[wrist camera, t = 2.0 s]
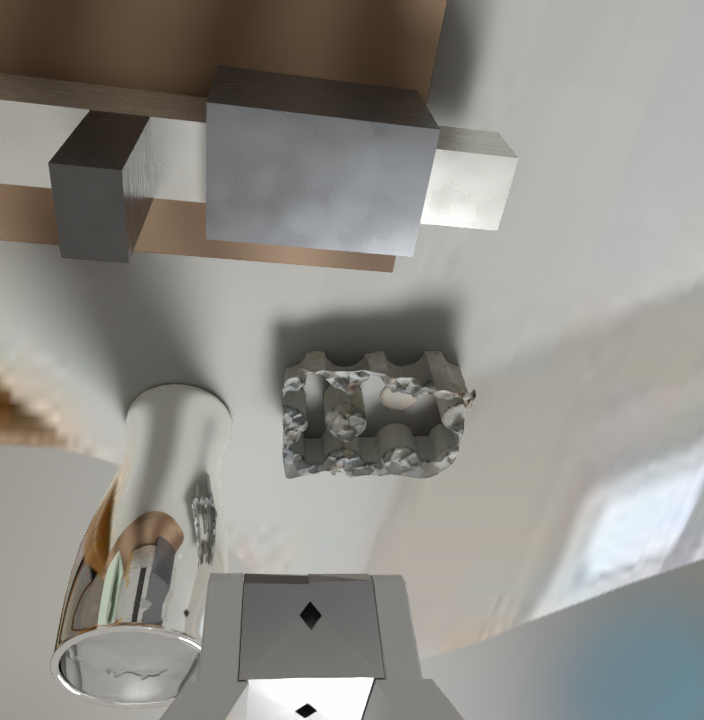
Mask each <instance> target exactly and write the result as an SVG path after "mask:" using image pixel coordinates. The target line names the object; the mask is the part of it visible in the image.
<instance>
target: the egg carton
mask: <svg viewBox="0 0 704 720" xmlns="http://www.w3.org/2000/svg"><path fill="white" fill-rule="evenodd" d="M309 374H311V375H315V374H321V375H324V378H325V380H328V382H329V383H330V384H331V385H330V386H329V387H328V388H327V389H326V390H325V393H324V395H323V401H324V415H325V425H326V428H327V429H326V430H325V431H324V433H323V434H322V436H321V438H313V439H307V438H305V436H304V434H303V431H304V430H306V429H307V427H308V423H307V416H306V395H305V392H304V391H303V389H302V388H301V387H302V386H303V385H305V381H306V377H307V375H309ZM370 375H374V376H378V377H379V378H381V379H382V381H383V382H384V384H385V385H386V387H384V389H383V390H382V392H381V394H380V397H381V401H382V403H383V405H384V406H386V407H387V408H389V409H393V410H398V411H399V410H404V409H407V408H409V407H410V406H412V405H413V404H414V403H415V402H416V400H417V397H418V395H421V394H425V393H426V394H429V395H432V396H434V397H436V401H437V405H438V409H439V412H440V416H441V420H442V422H443V423H440V424H438V425H436V426H435V427H434V428H433V429H432V430H431V432H430V434H429V435H428V436H413V432H412V430H411V429H410V428H409V427H408V426H407V425H404V424H401V423H392V424H388V425H386V426H384V427H382V428H381V429H380V430H379V431H378V433H377V434H376V436H375V437H359V435H360V434H361V433H362V432H363V431H364V430H365V428H366V425H367V420H366V415H365V408H364V402H363V396H362V392H361V389H360V388H359V385H360V384H361V383H362V382H364V381H366V380H367V379H368V378H369V376H370ZM283 381H284V388H283V389H282V398H283V408H284V416H283V430H284V432H283V446H284V448H282V452H283V462H284V469H285V475H286V478H289V479H290V478H295V477H299V476H305V475H315V474H317V473H319V472H330V473H331V474H332V475H335V474H336V473H337V472H343V473H345V474H346V475H347V476H349V477H351V478H353V477H358V476H362V475H378V476H382V475H388V474H394V475H402V476H408V477H414V478H429V477H432V476H434V475H436V474H438V473H440V472H441V471H443V470H444V469H446V468H447V467H449V466H450V465H451V464H452V463H453V462H454V461H455V458H456V455H457V453H458V450H459V443H460V439H461V435H463V431H464V420H465V415H466V411H468V412H469V411H470V409H471V405H472V401H473V400H474V399H475V397H476V389H474V390H473V391H472V393H471V394H470V393H468V392H467V388H466V386H465V382H464V379H463V376H462V373H461V370H460V367H459V366H456V365H453V364H450V363H448V362H447V361H446V360H445V358H444V356H443V353H442V352H439V351H426V352H424V354H423V356H422V357H421V358H420V359H419V360H418V361H417V362H415V363H413V364H410V365H407V366H397V365H394V364H392V363H391V362H389V361H388V360H387V359H386V357H385V354H384V351H379V352H373V353H366V354H365V355H364V357H363V358H362V359H361V360H360V361H359V363H357V364H355V365H352V366H348V367H341V366H336V365H334V364H332V363H331V362H330V361H329V360H328V359H327V357H326V355H325V352H319V351H313V352H307V353H306V355H305V357H304V359H303V360H302V361H301V362H300V363H299V364H297V365H295V366H292V367H289V368H286V369H285V378H284V379H283Z"/></svg>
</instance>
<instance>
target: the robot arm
mask: <svg viewBox="0 0 704 720" xmlns="http://www.w3.org/2000/svg"><path fill="white" fill-rule="evenodd" d="M160 720H464V718H463V717H462V716H461V715H460V714H459V712H458V711H457V710H456V709H455V707H454V706H453V705H452V703H451V702H450V701H449V700H448V698H447V697H446V696H445V695H444V693H443V692H442V691H441V690H440V688H439V687H438V686H437V685H436V683H435V682H434V681H433V680H432V679H423V678H422V672H421V667H420V661H419V655H418V650H417V644H416V638H415V632H414V627H413V621H412V615H411V610H410V604H409V598H408V592H407V587H406V582H405V580H404V579H403V577H402V576H401V575H369V574H307V575H291V574H244V583H243V573H210V577H209V581H208V586H207V595H206V604H205V614H204V623H203V633H202V642H201V651H200V661H199V670H198V679H197V682H187V683H186V684H185V686H184V687H183V688H182V690H181V691H180V692H179V694H178V695H177V696H176V698H175V699H174V701H173V702H172V703H171V705H170V706H169V707H168V709H167V710H166V712H165V713H164V714H163V716H162V717H161V718H160Z"/></svg>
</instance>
